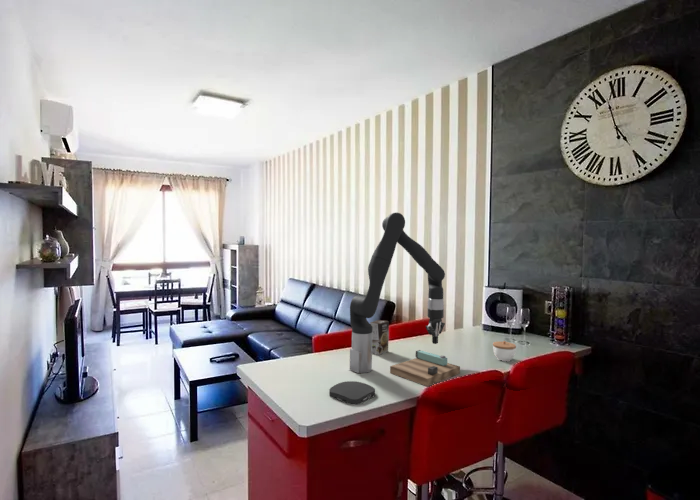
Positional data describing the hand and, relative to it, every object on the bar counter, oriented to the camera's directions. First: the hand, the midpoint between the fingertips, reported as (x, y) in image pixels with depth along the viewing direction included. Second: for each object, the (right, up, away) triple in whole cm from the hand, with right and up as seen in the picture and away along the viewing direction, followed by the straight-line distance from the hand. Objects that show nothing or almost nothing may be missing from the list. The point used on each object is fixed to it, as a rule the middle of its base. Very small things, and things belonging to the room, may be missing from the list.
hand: (435, 343), depth 187 cm
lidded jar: (+36, -10, +7) cm, 38 cm away
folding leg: (-4, -6, -8) cm, 11 cm away
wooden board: (-8, -10, -15) cm, 19 cm away
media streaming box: (-40, -10, -40) cm, 58 cm away
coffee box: (-26, -9, +16) cm, 31 cm away
